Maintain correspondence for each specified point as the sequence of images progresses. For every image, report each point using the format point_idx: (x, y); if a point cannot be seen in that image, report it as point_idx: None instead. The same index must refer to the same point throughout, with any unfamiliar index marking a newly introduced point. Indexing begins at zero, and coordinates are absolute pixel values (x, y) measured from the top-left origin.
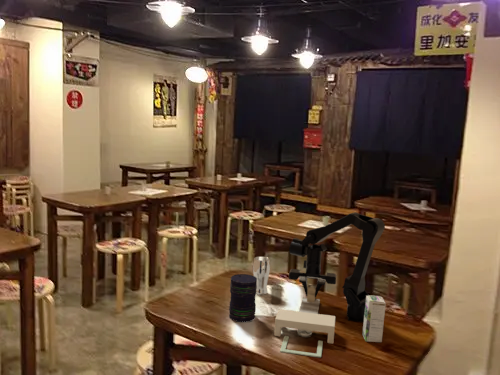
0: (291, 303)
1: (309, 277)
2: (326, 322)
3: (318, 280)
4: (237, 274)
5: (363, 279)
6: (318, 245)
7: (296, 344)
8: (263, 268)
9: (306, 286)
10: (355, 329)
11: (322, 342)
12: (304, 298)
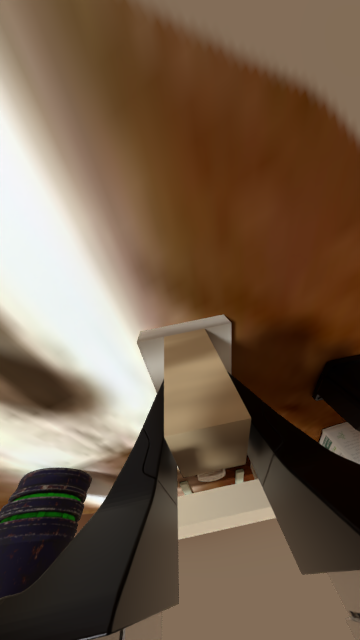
0: (112, 378)
1: None
2: (268, 516)
3: (346, 569)
4: None
5: None
6: None
7: (203, 484)
8: None
9: (176, 501)
10: (314, 420)
11: (243, 473)
12: (151, 351)
